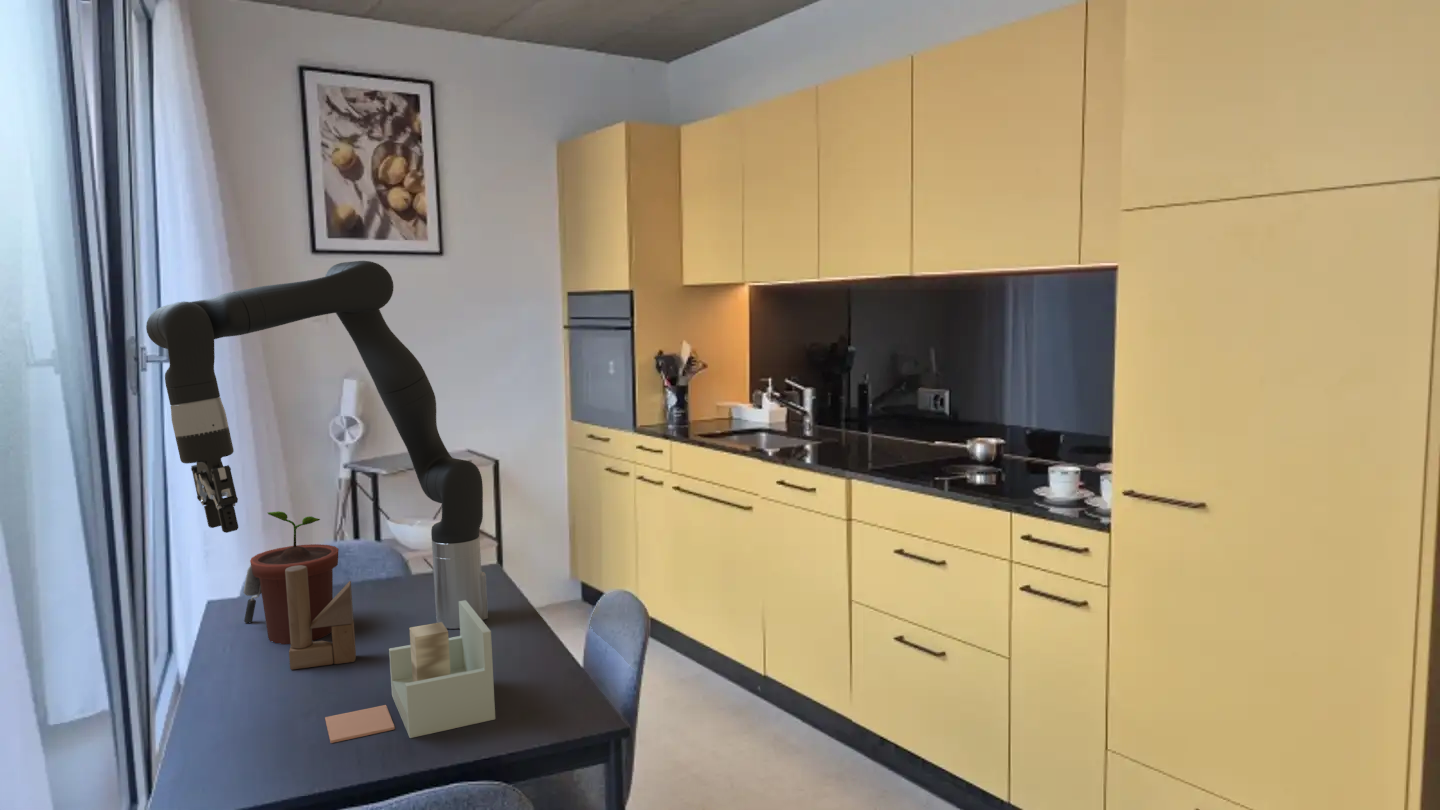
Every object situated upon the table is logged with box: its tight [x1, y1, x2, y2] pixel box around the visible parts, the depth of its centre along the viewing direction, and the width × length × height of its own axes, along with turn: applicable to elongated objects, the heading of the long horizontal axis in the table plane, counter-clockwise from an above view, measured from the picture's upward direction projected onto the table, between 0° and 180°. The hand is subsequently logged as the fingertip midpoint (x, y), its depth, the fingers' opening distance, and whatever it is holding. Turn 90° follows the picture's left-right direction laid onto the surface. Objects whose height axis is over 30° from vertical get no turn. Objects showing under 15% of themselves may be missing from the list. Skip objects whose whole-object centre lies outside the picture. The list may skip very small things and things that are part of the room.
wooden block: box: [285, 565, 357, 671], centre depth 169 cm, size 4×11×18 cm, turn 108°
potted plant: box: [243, 511, 339, 645], centre depth 186 cm, size 18×22×25 cm
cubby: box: [388, 600, 496, 739], centre depth 149 cm, size 13×17×14 cm
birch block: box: [409, 622, 450, 682], centre depth 148 cm, size 5×5×10 cm
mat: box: [324, 704, 396, 744], centre depth 144 cm, size 9×9×1 cm
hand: (223, 528), depth 150 cm, fingers open, 8 cm apart
